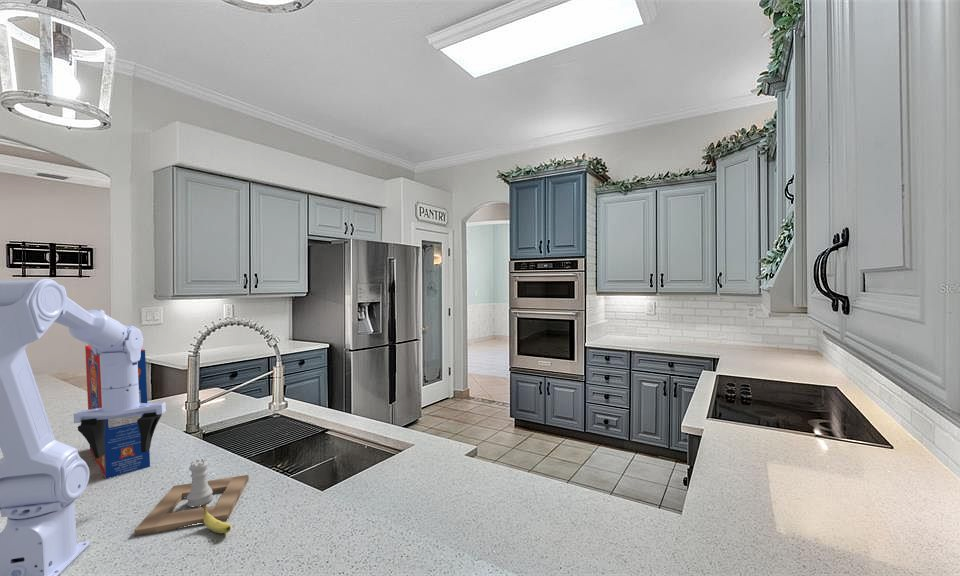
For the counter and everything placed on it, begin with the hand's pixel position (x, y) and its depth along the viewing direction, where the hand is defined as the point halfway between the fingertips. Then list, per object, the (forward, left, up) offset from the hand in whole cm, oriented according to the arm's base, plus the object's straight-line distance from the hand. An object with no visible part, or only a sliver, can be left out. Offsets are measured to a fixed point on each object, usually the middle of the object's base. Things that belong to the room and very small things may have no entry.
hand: (123, 453), depth 85 cm
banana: (-19, -21, -10) cm, 30 cm away
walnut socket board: (-8, -15, -9) cm, 19 cm away
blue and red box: (+28, +13, -10) cm, 32 cm away
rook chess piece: (-7, -15, -10) cm, 19 cm away
